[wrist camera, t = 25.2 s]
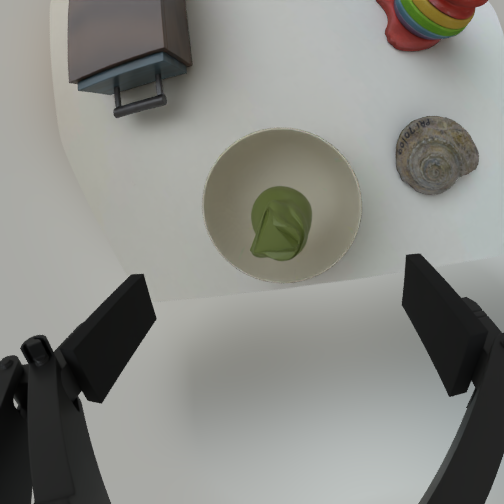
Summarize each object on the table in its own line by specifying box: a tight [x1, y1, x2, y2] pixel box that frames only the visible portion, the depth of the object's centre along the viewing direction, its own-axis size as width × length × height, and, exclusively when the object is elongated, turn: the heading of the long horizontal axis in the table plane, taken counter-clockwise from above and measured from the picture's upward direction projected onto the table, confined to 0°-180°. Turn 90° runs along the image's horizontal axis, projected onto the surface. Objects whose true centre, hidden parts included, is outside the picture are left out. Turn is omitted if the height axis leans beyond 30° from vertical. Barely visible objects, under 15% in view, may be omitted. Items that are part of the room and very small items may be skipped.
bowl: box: [202, 128, 362, 283], centre depth 35 cm, size 16×16×10 cm
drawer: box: [78, 51, 187, 118], centre depth 30 cm, size 18×12×8 cm, turn 7°
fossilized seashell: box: [396, 116, 479, 195], centre depth 33 cm, size 11×11×7 cm
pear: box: [250, 186, 312, 261], centre depth 25 cm, size 6×5×10 cm
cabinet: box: [68, 0, 192, 84], centre depth 28 cm, size 15×13×10 cm
